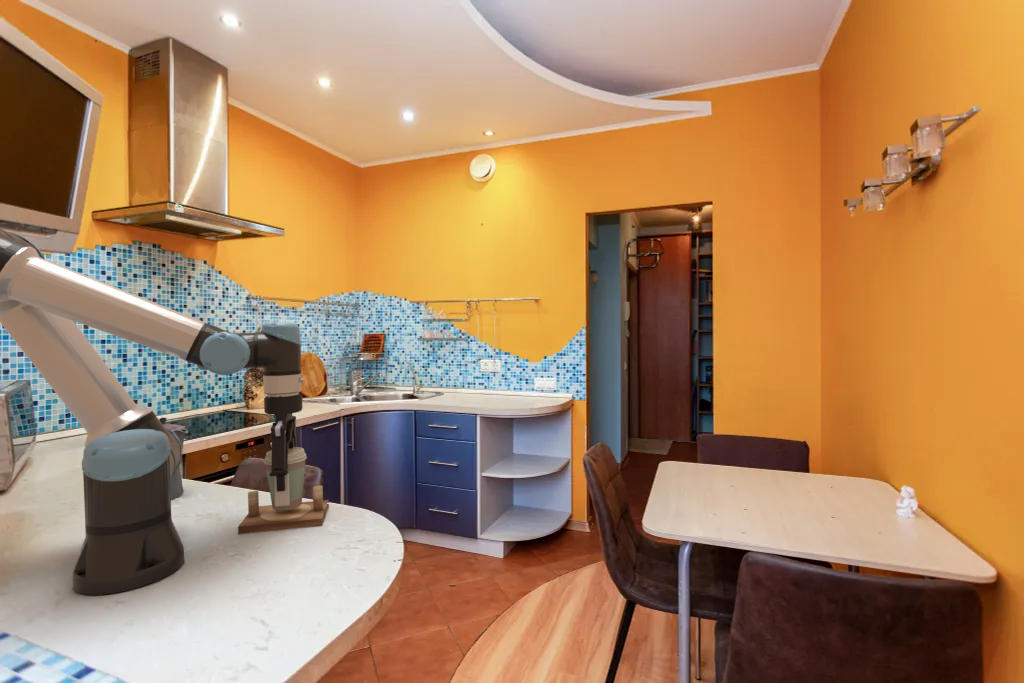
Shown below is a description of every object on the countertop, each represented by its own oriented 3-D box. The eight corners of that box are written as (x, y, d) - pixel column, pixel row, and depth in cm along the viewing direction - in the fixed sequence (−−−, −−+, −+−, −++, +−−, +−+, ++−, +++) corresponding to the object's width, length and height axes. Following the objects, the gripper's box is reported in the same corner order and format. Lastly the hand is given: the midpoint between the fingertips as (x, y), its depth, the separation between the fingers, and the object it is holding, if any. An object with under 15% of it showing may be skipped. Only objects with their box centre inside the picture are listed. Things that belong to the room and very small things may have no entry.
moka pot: (177, 503, 120) (174, 420, 120) (114, 504, 121) (111, 421, 120) (202, 490, 130) (200, 414, 129) (144, 491, 130) (141, 414, 130)
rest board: (322, 525, 105) (321, 494, 105) (238, 534, 101) (237, 502, 101) (328, 506, 117) (328, 478, 117) (253, 513, 113) (252, 484, 113)
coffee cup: (315, 499, 113) (313, 446, 113) (295, 513, 104) (293, 456, 104) (279, 498, 114) (277, 446, 113) (256, 512, 105) (254, 456, 105)
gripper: (293, 399, 99) (296, 513, 100) (309, 388, 119) (311, 483, 120) (251, 401, 98) (255, 517, 98) (274, 389, 117) (277, 486, 118)
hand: (286, 498), depth 109 cm, fingers closed on coffee cup, 8 cm apart
